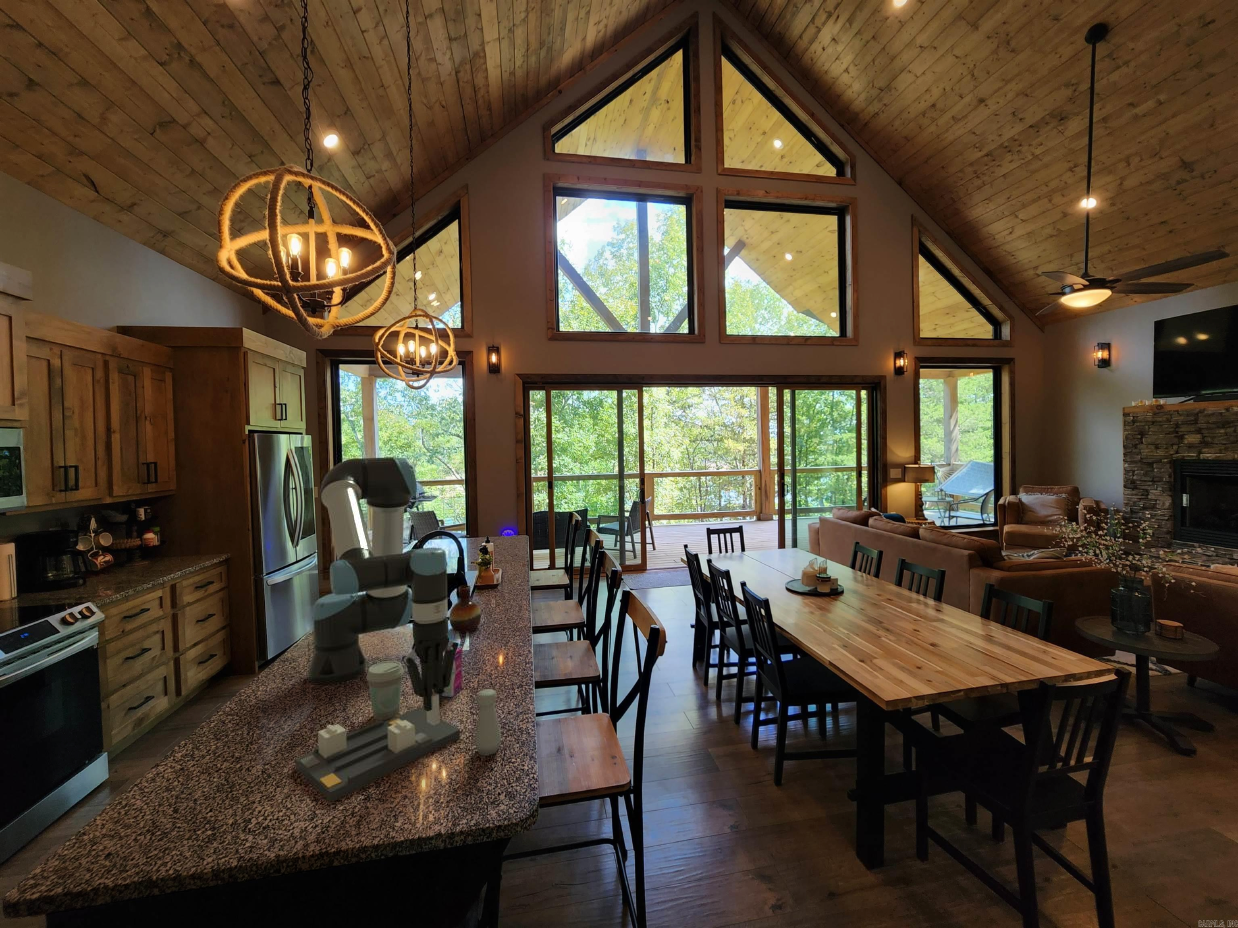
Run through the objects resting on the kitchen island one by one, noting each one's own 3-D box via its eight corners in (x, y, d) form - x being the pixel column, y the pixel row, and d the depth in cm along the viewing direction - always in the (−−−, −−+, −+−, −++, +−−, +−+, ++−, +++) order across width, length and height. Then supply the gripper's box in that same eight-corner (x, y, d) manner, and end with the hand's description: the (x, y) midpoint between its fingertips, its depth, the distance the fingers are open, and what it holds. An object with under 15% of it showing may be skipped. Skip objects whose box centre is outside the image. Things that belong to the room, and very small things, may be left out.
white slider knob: (318, 752, 113) (317, 728, 113) (338, 744, 116) (337, 720, 116) (326, 759, 110) (325, 734, 110) (346, 750, 113) (345, 726, 113)
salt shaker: (477, 743, 119) (475, 686, 119) (503, 741, 120) (501, 684, 119) (472, 758, 113) (470, 698, 113) (499, 757, 114) (498, 697, 113)
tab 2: (388, 747, 114) (387, 724, 114) (405, 739, 117) (405, 716, 117) (397, 754, 112) (396, 730, 111) (415, 746, 115) (414, 722, 115)
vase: (476, 633, 189) (475, 590, 189) (445, 634, 189) (444, 591, 189) (484, 623, 200) (483, 582, 200) (455, 623, 201) (454, 583, 200)
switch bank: (295, 768, 111) (295, 755, 111) (420, 714, 132) (419, 703, 132) (330, 802, 100) (330, 787, 100) (460, 738, 122) (459, 725, 121)
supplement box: (452, 698, 141) (451, 655, 140) (432, 697, 142) (430, 654, 141) (463, 688, 146) (462, 647, 146) (443, 687, 147) (442, 646, 147)
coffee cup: (368, 726, 127) (366, 676, 127) (366, 710, 135) (365, 664, 134) (406, 717, 131) (405, 669, 131) (403, 702, 139) (401, 657, 138)
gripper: (411, 629, 112) (415, 740, 113) (465, 614, 122) (467, 715, 123) (393, 622, 117) (397, 728, 117) (446, 608, 127) (449, 706, 127)
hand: (433, 722), depth 120 cm, fingers closed
